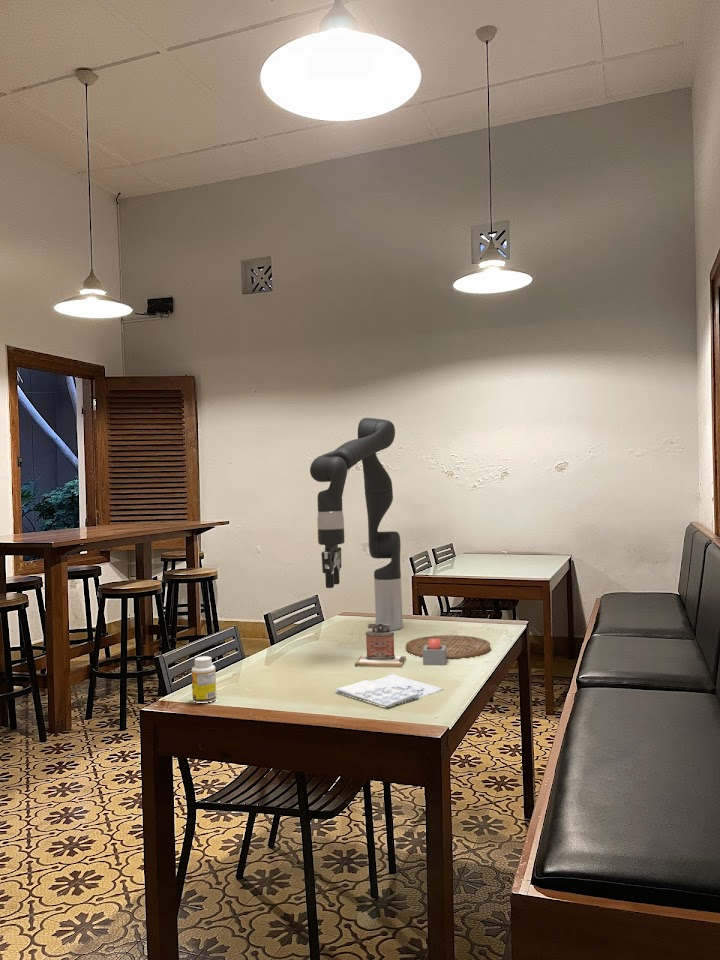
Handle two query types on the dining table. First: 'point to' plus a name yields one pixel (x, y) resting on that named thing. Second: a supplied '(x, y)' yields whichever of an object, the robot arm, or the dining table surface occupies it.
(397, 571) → the robot arm
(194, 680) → the supplement bottle
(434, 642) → the button
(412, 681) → the folded patterned cloth
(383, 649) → the lighter
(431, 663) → the button box
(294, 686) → the dining table surface
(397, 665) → the clipboard
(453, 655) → the trivet
